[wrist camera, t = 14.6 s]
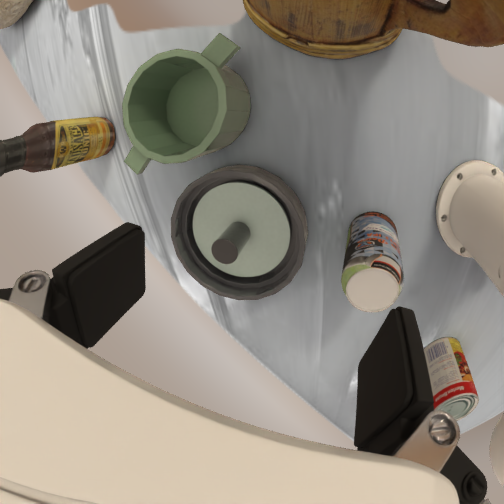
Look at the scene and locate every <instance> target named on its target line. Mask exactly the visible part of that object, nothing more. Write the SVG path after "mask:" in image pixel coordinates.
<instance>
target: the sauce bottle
mask: <svg viewBox="0 0 504 504" xmlns="http://www.w3.org/2000/svg"><path fill="white" fill-rule="evenodd" d="M114 141H115V131H114V127H113V125H112V123H111V122H110V121H109V120H107V119H106V118H103V117H88V118H76V119H66V120H57V121H50V122H46V123H39V124H35V125H33V126H31V127H30V128H29V129H28V130H27V131H26V132H24V133H23V135H21V136H16V137H14V138H11V139H7V140H3V141H2V140H0V176H2V175H3V174H4V173H7V172H9V171H13V170H18V169H23V170H26V171H29V172H39V171H46V170H52V169H55V168H59V167H63V166H67V165H70V164H74V163H78V162H82V161H86V160H91V159H95V158H98V157H100V156H103V155H105V154H107V153H108V152H109V151H110V150H111V149H112V147H113V145H114Z"/></svg>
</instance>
